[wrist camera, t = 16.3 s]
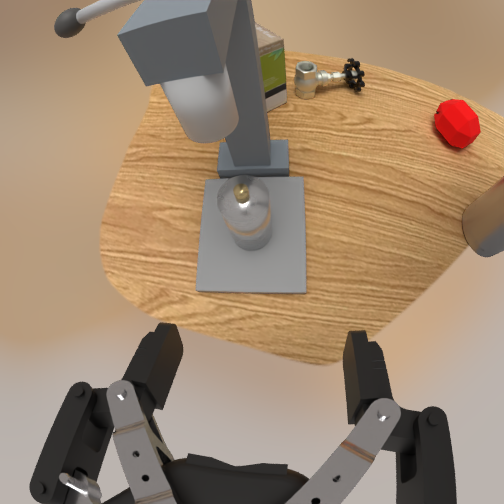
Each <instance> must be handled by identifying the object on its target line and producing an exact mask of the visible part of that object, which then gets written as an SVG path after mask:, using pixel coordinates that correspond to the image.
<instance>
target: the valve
mask: <svg viewBox="0 0 504 504" xmlns="http://www.w3.org/2000/svg"><path fill="white" fill-rule="evenodd" d="M347 61H348V62H350V64H345V65H344V66H345V67H344V71H343V72H342V74H340V73H339V72H331V74H329V73H326V71H325V70H321V71H318V73H317V65H315V64H314V63H312V62H309V61H302V62H298V63H297V66H296V74H295V77H294V83H295V85H296V95H297V96H299V97H301V98H302V99H310V98H314V96H315V92H316V87H317V85H321V86H327V85H328V84H329V82H331V80H332V81H334V82H336V81H341V79H344V80H345V82H346V83H347V84H349V87H350V88H355V87H356V89H354V90H355V92H360V91H361V87H364V86H365V83H364V82H363V81H362V77H364V71H360V69H359V67H360V62H359V61H354V59H353V58H351V59H348V60H347ZM353 67H354V68H355V70H356V71H352V68H353ZM347 69H348V70H347ZM354 79H358V80H357V83H356V82H355V81H354ZM349 80H350V81H349Z"/></svg>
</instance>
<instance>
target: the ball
mask: <svg viewBox="0 0 504 504" xmlns="http://www.w3.org/2000/svg"><path fill="white" fill-rule="evenodd" d="M436 112H437V113H436V114H434V118H435V126H436V128H437V130H438V131H439V132H440V133H441V134H442V136H443V137H444V138H445V139H446V140H447V142H448V143H449V144H450V145H451V146H455V147H459V148H464V147H466V146H468V145H469V144H471V143H473V141H474V140H475V139H476V137H477V136H478V135H479V134H480V132H481V131H480V125H479V119H478V116H477V115H476V114H475V112H474V111H473V110H472V109H471V108H470V107H469V106H468V105H467V104H466V102H465V101H464V100H455V99H451V100H448V101H445V102H443V103H440V105H439V107H438V109H437V111H436Z"/></svg>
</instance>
